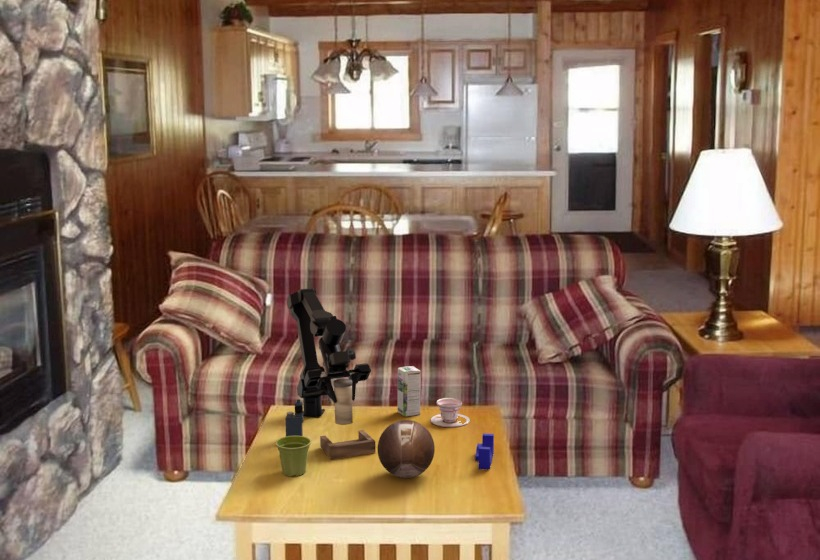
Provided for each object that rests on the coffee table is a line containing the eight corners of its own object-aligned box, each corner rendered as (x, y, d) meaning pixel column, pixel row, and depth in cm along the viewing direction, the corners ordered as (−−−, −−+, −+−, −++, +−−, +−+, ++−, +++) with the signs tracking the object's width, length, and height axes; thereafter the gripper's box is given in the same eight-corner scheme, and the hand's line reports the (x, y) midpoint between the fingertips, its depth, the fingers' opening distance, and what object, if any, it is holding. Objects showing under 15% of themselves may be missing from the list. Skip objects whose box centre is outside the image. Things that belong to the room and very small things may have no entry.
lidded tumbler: (341, 418, 289) (340, 377, 287) (356, 421, 287) (355, 380, 284) (331, 423, 285) (330, 382, 283) (346, 426, 282) (345, 384, 280)
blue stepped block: (477, 453, 282) (477, 433, 280) (493, 454, 281) (493, 433, 280) (472, 469, 270) (472, 448, 269) (489, 470, 269) (489, 449, 268)
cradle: (320, 447, 287) (320, 436, 286) (363, 441, 291) (363, 429, 291) (331, 459, 278) (331, 447, 277) (375, 452, 282) (375, 441, 282)
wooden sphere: (385, 489, 256) (384, 433, 254) (372, 468, 271) (371, 415, 268) (441, 483, 260) (441, 428, 257) (425, 462, 275) (425, 410, 272)
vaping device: (303, 440, 292) (302, 401, 290) (285, 440, 292) (284, 401, 290) (304, 437, 295) (303, 398, 292) (286, 437, 295) (285, 398, 292)
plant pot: (319, 470, 270) (318, 439, 268) (296, 482, 262) (295, 450, 260) (292, 463, 275) (291, 433, 273) (269, 474, 267) (268, 443, 266)
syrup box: (396, 411, 317) (396, 367, 314) (413, 409, 320) (413, 365, 317) (404, 417, 312) (403, 372, 309) (421, 414, 315) (421, 369, 312)
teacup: (425, 417, 312) (425, 398, 311) (461, 413, 316) (461, 394, 315) (437, 429, 301) (437, 410, 300) (475, 425, 304) (475, 406, 303)
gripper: (305, 342, 282) (318, 391, 273) (368, 335, 289) (382, 382, 281) (298, 363, 290) (311, 410, 282) (359, 356, 297) (373, 402, 289)
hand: (344, 401), depth 283 cm, fingers closed on lidded tumbler, 5 cm apart
